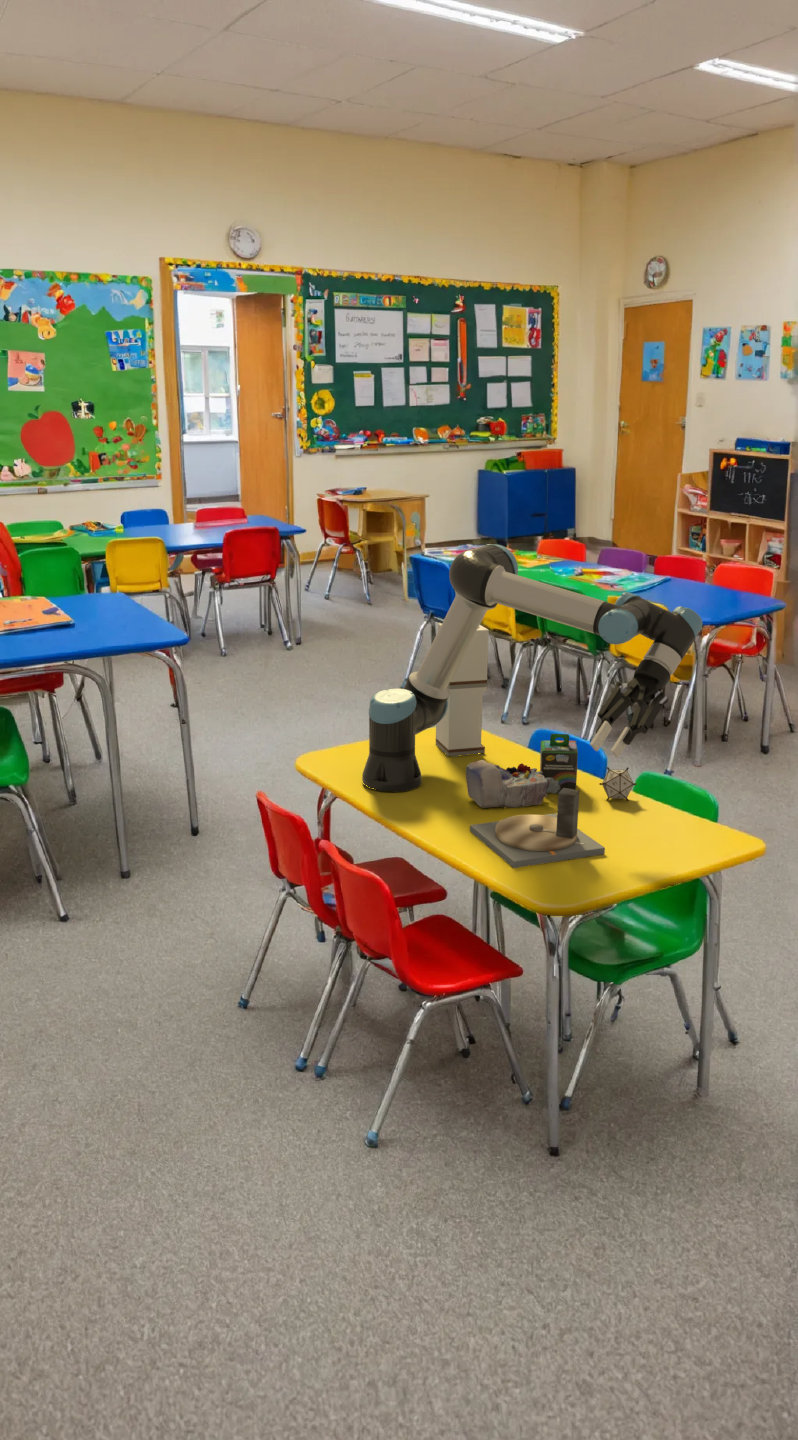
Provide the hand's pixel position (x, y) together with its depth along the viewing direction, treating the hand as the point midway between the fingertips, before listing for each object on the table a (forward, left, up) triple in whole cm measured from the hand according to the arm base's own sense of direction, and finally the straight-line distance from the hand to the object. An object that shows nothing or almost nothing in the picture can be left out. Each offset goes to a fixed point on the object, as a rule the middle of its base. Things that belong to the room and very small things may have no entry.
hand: (604, 750), depth 247 cm
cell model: (-27, -9, -21) cm, 36 cm away
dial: (-2, -15, -19) cm, 24 cm away
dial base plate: (-2, -15, -20) cm, 25 cm away
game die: (-20, +17, -21) cm, 33 cm away
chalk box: (-32, +7, -21) cm, 38 cm away
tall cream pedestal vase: (-70, -3, -21) cm, 73 cm away
